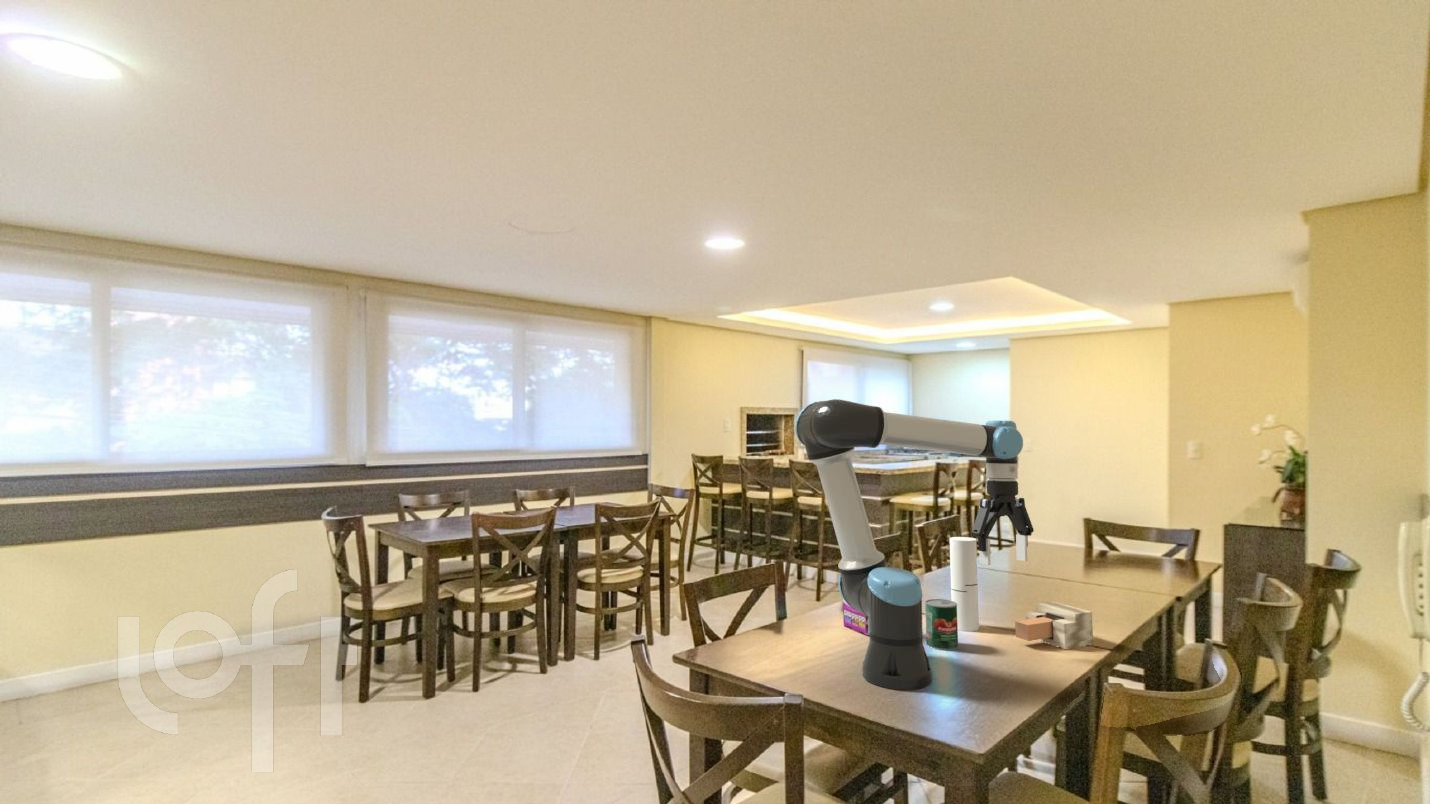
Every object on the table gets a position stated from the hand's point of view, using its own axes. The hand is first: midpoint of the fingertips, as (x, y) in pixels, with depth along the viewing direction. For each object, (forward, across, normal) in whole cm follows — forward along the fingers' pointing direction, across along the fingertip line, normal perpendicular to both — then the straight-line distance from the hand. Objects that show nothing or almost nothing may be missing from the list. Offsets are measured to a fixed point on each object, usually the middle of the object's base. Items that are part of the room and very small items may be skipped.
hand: (1003, 562), depth 168 cm
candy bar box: (+22, -22, +30) cm, 43 cm away
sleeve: (+21, +17, -3) cm, 28 cm away
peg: (+19, +9, -2) cm, 22 cm away
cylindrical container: (+22, +5, +17) cm, 28 cm away
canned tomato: (+22, -13, +9) cm, 27 cm away
